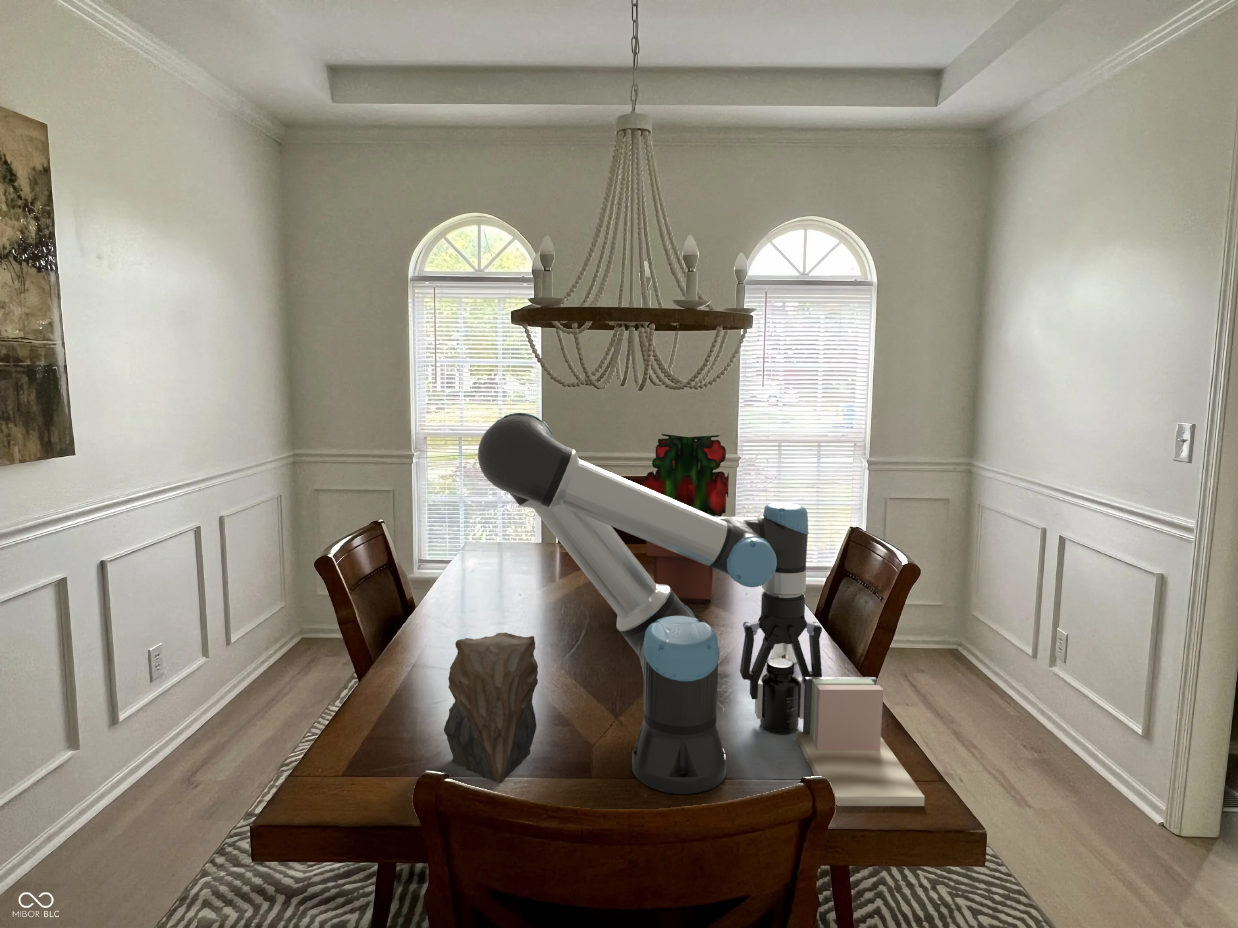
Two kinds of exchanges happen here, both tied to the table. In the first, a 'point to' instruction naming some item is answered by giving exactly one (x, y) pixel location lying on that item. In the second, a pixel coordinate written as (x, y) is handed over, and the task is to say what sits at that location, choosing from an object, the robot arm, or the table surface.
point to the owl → (492, 704)
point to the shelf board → (862, 775)
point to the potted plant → (694, 485)
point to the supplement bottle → (780, 697)
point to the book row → (846, 714)
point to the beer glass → (784, 652)
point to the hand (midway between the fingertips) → (779, 715)
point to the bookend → (809, 694)
